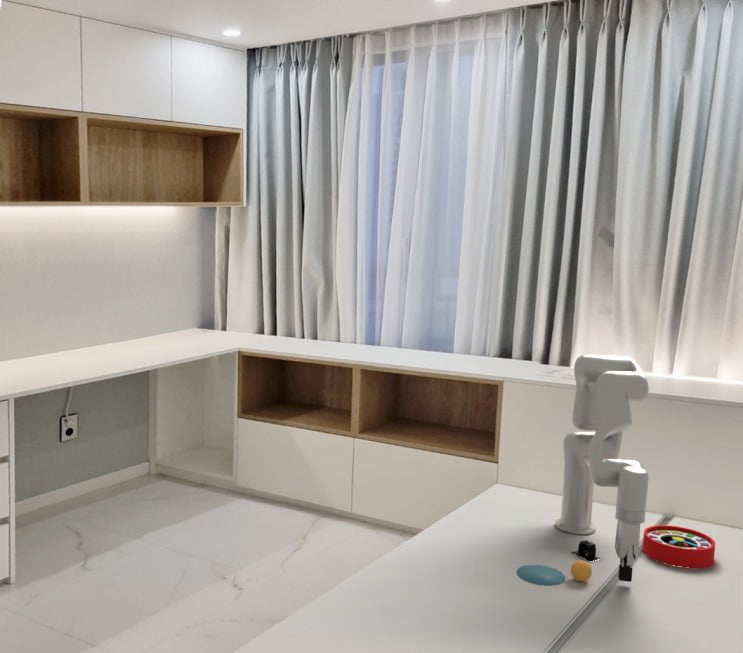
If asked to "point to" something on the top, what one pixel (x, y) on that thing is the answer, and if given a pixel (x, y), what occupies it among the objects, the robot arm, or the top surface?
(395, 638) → the top surface
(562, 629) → the top surface
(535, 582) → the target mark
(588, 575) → the ball
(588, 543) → the black boxy piece
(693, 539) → the toy clock
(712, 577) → the top surface
